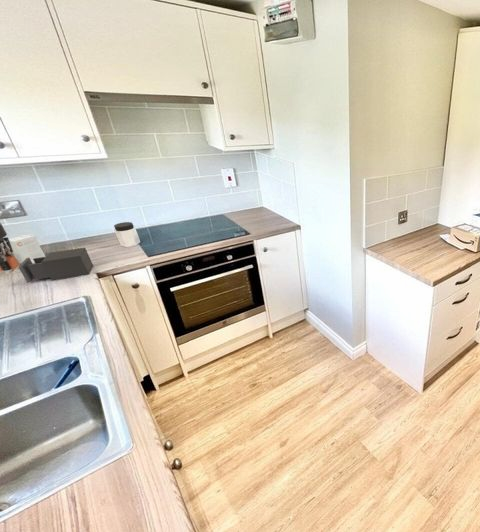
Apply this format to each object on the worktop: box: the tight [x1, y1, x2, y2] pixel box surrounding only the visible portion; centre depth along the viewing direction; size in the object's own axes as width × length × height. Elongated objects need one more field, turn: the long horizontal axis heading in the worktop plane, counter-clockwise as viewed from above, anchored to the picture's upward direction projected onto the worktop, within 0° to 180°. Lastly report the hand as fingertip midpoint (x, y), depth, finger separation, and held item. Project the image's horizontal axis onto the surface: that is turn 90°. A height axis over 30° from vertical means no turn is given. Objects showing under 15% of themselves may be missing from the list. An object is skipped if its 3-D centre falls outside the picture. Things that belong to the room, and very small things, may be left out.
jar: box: [113, 221, 141, 248], centre depth 180 cm, size 9×8×12 cm
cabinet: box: [42, 247, 94, 282], centre depth 150 cm, size 13×11×10 cm
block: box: [0, 255, 20, 272], centre depth 123 cm, size 4×4×4 cm
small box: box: [8, 233, 47, 265], centre depth 158 cm, size 8×6×13 cm
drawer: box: [5, 257, 51, 284], centre depth 145 cm, size 17×10×8 cm, turn 122°
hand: (9, 267), depth 124 cm, fingers closed on block, 4 cm apart
